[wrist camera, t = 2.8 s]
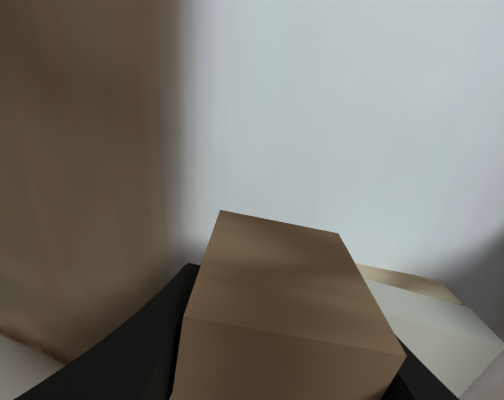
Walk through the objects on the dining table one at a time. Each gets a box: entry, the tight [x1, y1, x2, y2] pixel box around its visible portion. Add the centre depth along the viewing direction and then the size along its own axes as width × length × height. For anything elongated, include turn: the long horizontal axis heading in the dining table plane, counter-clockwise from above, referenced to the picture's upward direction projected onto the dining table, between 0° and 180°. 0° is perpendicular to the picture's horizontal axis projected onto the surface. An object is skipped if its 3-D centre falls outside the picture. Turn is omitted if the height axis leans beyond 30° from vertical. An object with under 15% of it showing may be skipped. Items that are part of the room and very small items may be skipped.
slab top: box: [363, 278, 504, 398], centre depth 16 cm, size 8×12×2 cm, turn 163°
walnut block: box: [172, 210, 407, 400], centre depth 8 cm, size 4×4×5 cm
